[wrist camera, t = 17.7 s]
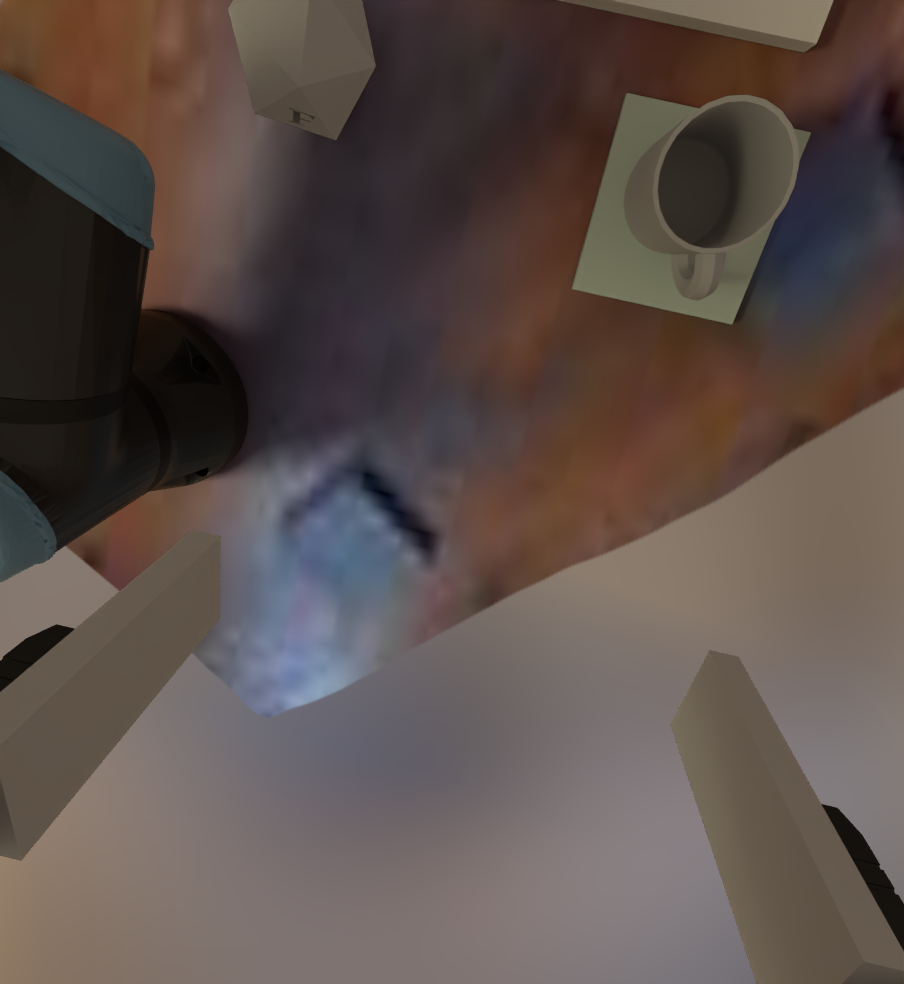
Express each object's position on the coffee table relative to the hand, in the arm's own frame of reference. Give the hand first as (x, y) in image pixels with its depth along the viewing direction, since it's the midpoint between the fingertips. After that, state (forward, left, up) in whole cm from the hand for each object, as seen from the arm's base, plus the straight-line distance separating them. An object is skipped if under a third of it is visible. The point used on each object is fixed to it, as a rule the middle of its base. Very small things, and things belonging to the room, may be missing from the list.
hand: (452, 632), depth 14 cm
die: (-16, +18, -32) cm, 40 cm away
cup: (+10, +14, -31) cm, 35 cm away
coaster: (+10, +14, -32) cm, 36 cm away
